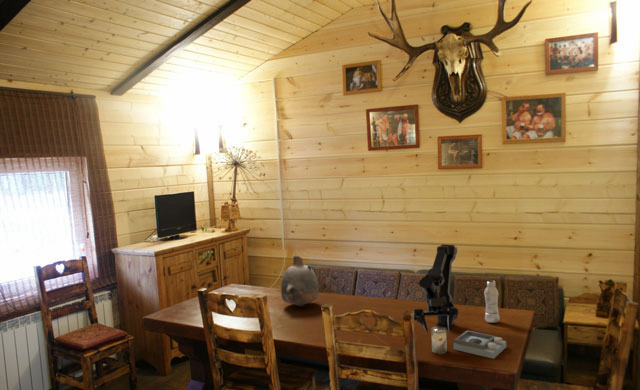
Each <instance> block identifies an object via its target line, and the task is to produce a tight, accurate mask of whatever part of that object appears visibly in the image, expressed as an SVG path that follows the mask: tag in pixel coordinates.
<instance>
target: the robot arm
mask: <svg viewBox="0 0 640 390" xmlns="http://www.w3.org/2000/svg"><path fill="white" fill-rule="evenodd" d="M457 253H458V247H456V246H455V244H443V243H442V244H440V245H438V246H437V248H436V254H435V258H434V261H433V265H432V267H431V268H430V269H428V270H427V273H426V274H425V276H424V277H422V278H421V279H420V280H419V287H420V288H421V289H422V291H423V293H424V295H425V300H426V308H427V311H426V310H425V311H424V308H423V307H422V308H414V309H413V311H412V318H413V317H414V320H413V321H416V322H418V323H420V325H421V326H422V327H423V329H424V331H425V333H426V334H428V333H429V329H428V325H427V322H426V317H437V323H436V326H440V327H445V328H447V330H448V333H451V328H452V326H453V325H455V322H454V321H455V320H456V319H458V316H459V309H458V308H457V307H456V306H455V304H454V301H453V297H452V295H451V293H450V292H451V291H450V290H451V280H452V278H451V277H452V263H454V261H455V260H456V259H457V258H456V257H457ZM438 287H439V288H438Z"/></svg>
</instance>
